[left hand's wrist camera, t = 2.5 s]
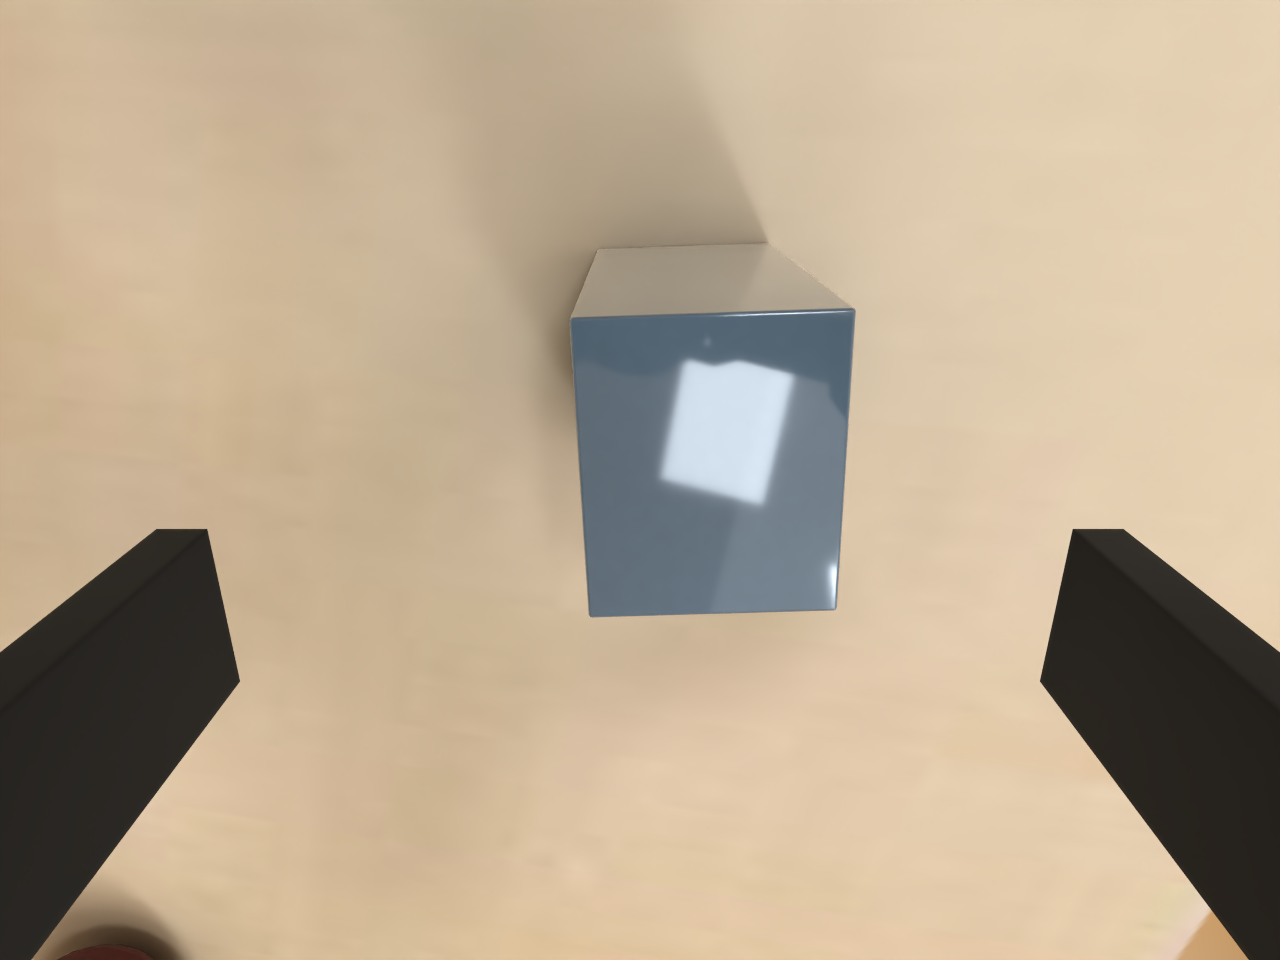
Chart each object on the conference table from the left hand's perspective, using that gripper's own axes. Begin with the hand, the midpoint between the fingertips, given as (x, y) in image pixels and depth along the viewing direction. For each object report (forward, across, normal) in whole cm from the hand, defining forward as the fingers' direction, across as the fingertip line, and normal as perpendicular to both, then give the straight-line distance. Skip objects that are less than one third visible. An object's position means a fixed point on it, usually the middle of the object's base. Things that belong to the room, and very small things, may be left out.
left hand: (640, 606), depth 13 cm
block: (+16, +2, 0) cm, 16 cm away
